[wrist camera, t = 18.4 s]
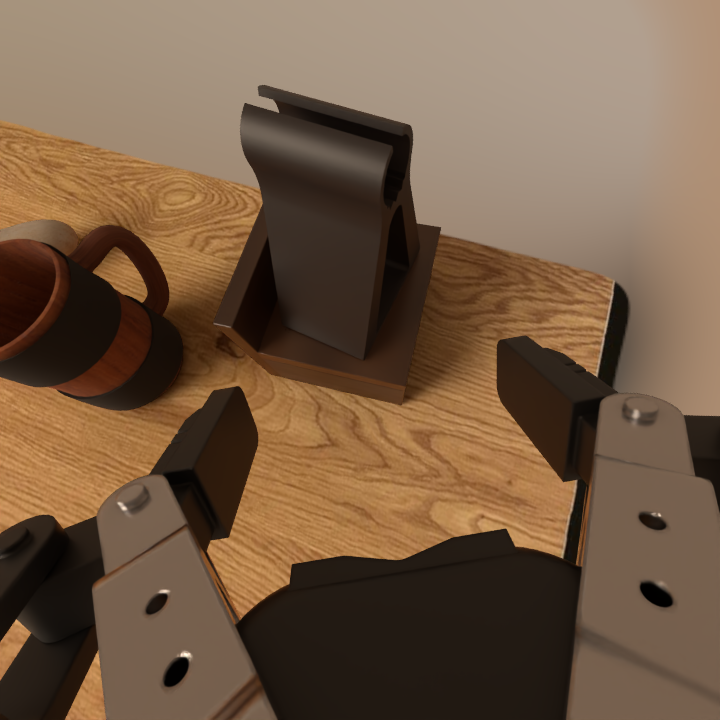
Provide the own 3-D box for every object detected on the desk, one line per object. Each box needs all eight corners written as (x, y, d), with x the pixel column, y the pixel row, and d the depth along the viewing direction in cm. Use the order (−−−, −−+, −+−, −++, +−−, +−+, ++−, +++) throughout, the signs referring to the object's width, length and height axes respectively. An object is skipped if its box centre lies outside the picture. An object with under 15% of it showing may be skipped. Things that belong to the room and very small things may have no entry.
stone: (-73, 271, 31) (6, 173, 30) (15, 306, 36) (87, 224, 35) (-93, 307, 28) (-5, 198, 26) (8, 340, 33) (88, 250, 31)
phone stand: (344, 223, 25) (308, 19, 14) (420, 251, 24) (448, 52, 13) (282, 326, 23) (181, 182, 12) (363, 362, 22) (336, 240, 11)
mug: (232, 313, 31) (145, 221, 20) (142, 432, 28) (-20, 402, 17) (162, 273, 33) (46, 169, 22) (70, 380, 30) (-117, 323, 19)
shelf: (431, 273, 30) (450, 181, 21) (402, 405, 27) (409, 366, 17) (312, 252, 32) (280, 159, 23) (270, 374, 29) (211, 323, 19)
